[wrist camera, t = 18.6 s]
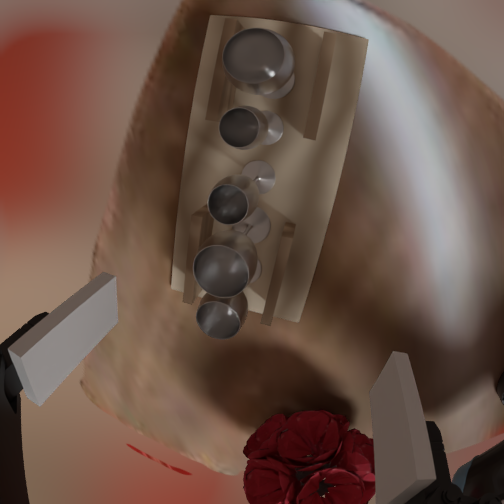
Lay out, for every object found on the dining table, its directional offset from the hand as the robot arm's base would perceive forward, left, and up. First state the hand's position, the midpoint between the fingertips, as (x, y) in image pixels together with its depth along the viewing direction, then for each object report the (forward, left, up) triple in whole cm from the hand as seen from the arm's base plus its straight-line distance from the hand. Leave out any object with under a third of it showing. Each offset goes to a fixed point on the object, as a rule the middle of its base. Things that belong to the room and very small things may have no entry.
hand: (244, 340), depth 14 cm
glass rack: (+4, -3, -25) cm, 26 cm away
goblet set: (+4, -3, -25) cm, 25 cm away
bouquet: (-15, +38, -25) cm, 48 cm away
